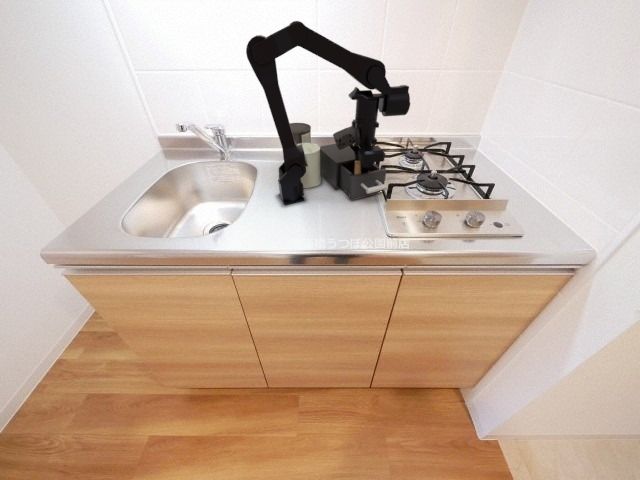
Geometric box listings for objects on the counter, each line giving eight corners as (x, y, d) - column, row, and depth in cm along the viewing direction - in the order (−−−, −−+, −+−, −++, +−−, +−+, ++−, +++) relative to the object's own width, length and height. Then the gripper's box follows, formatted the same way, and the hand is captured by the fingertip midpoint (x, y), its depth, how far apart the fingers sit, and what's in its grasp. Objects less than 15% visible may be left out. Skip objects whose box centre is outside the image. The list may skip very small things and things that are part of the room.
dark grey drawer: (392, 199, 74) (396, 176, 70) (358, 208, 71) (361, 185, 66) (361, 174, 87) (362, 153, 82) (331, 180, 84) (331, 159, 79)
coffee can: (290, 174, 90) (286, 133, 81) (281, 163, 97) (277, 125, 88) (316, 168, 93) (315, 128, 84) (306, 158, 101) (304, 121, 91)
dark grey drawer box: (369, 181, 85) (372, 155, 79) (335, 189, 81) (336, 163, 75) (348, 165, 95) (350, 140, 89) (318, 171, 91) (317, 146, 85)
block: (368, 179, 75) (369, 166, 72) (354, 179, 75) (355, 166, 72) (366, 173, 78) (368, 160, 75) (353, 172, 78) (354, 160, 75)
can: (302, 190, 81) (299, 154, 73) (289, 179, 87) (285, 145, 79) (326, 183, 85) (326, 147, 77) (312, 172, 91) (310, 139, 83)
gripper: (329, 110, 72) (329, 162, 82) (343, 130, 58) (341, 190, 68) (367, 107, 73) (362, 159, 83) (390, 127, 59) (380, 186, 69)
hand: (360, 172), depth 76 cm, fingers closed on block, 4 cm apart
